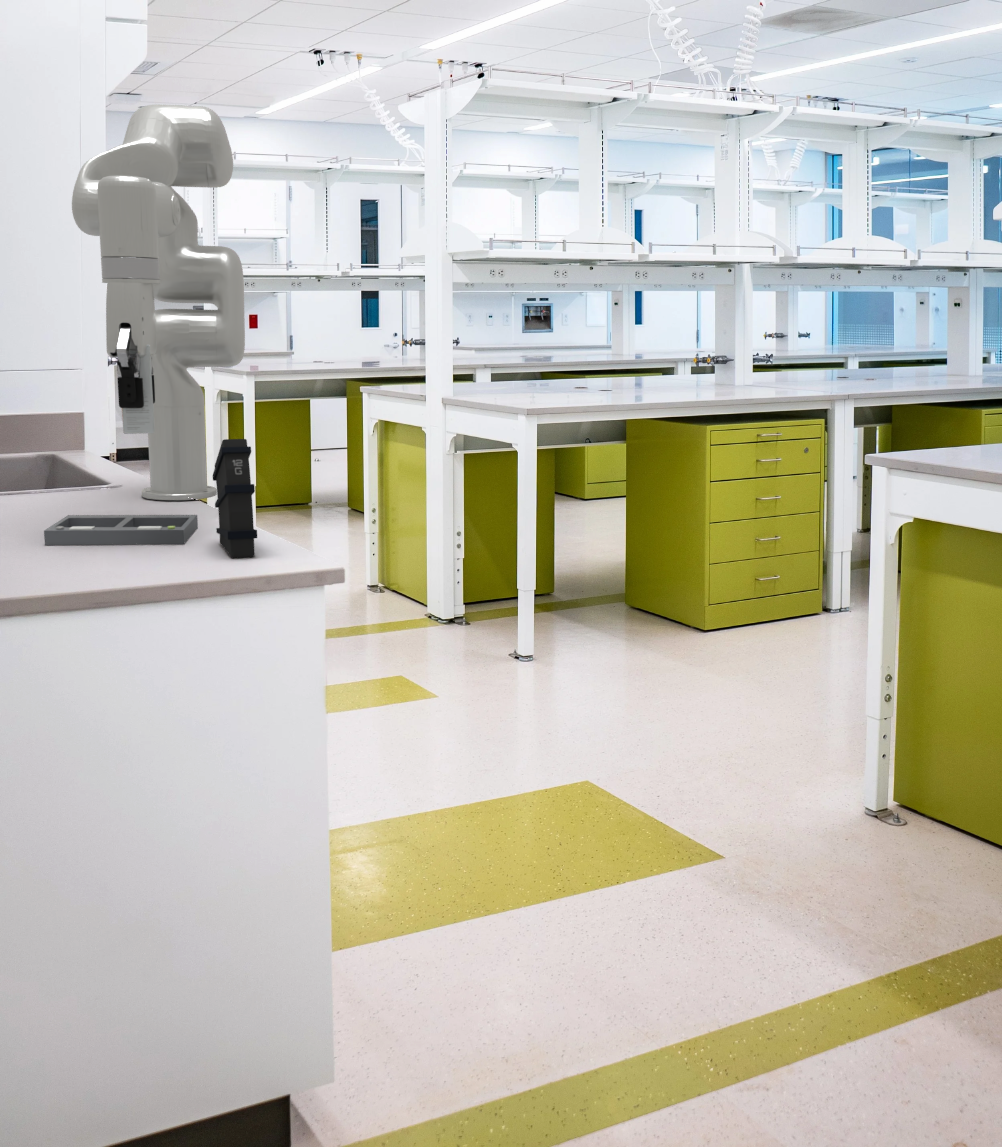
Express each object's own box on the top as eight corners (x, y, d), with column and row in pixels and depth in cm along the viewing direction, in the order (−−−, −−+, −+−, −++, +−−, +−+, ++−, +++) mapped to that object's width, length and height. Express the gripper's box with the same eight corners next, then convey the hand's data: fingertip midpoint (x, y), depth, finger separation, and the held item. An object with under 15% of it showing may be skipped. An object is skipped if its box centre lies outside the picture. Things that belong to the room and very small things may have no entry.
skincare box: (122, 429, 167) (117, 343, 165) (153, 429, 169) (150, 343, 166) (122, 434, 162) (117, 344, 159) (155, 433, 163) (150, 344, 160)
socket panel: (68, 528, 173) (67, 513, 173) (197, 528, 175) (197, 512, 175) (44, 545, 160) (43, 528, 160) (184, 544, 162) (183, 527, 162)
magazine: (231, 550, 150) (220, 438, 153) (220, 575, 162) (210, 471, 165) (261, 549, 151) (250, 437, 154) (248, 574, 163) (237, 470, 166)
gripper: (117, 273, 169) (124, 400, 172) (85, 269, 152) (93, 410, 156) (171, 274, 169) (177, 401, 173) (145, 270, 152) (152, 411, 156)
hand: (137, 404), depth 164 cm, fingers closed on skincare box, 6 cm apart
